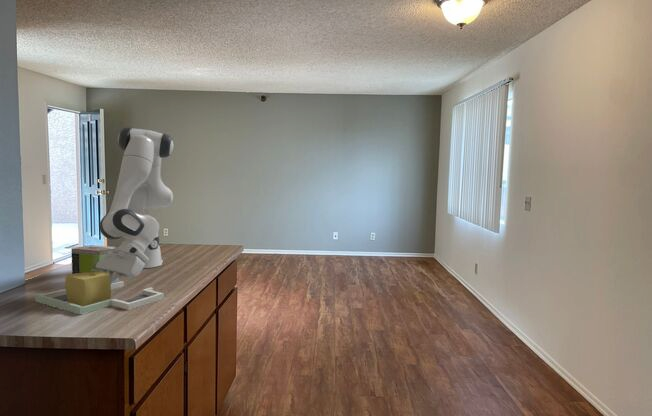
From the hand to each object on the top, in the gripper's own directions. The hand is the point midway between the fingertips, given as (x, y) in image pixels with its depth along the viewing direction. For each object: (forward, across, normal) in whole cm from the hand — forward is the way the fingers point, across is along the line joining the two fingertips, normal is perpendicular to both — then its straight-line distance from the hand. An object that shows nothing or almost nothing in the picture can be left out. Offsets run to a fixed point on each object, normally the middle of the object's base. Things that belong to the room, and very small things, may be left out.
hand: (105, 283), depth 147 cm
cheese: (+8, -1, 0) cm, 8 cm away
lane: (+4, 0, +3) cm, 5 cm away
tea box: (-4, -23, +12) cm, 26 cm away
